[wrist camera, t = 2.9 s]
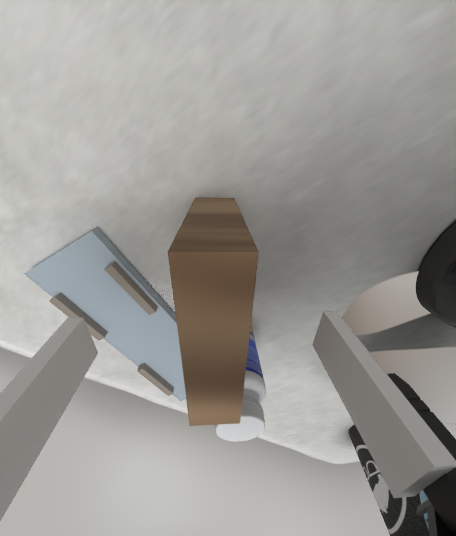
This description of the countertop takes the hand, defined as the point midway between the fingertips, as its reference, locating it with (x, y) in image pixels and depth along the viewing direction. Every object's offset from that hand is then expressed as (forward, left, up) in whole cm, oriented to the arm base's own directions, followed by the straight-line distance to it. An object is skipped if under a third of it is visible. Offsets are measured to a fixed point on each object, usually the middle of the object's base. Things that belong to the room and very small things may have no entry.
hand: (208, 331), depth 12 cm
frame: (0, 0, -9) cm, 9 cm away
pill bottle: (+3, +10, -9) cm, 14 cm away
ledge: (+11, +4, -9) cm, 15 cm away
